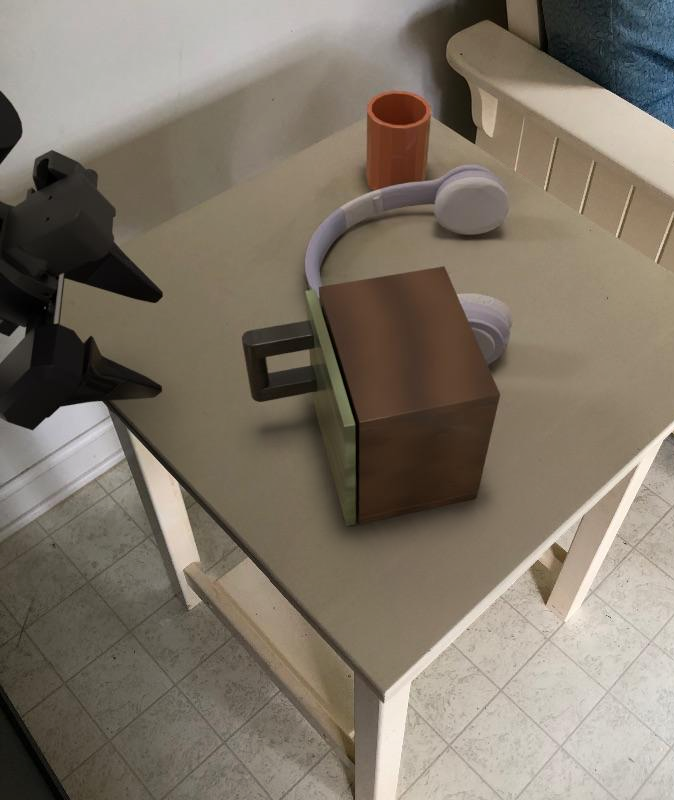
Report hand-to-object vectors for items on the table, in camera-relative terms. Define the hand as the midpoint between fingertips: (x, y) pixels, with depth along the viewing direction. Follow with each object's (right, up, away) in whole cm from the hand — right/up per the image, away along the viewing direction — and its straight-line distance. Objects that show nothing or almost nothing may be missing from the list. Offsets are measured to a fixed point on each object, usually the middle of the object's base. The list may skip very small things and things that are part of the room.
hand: (159, 343), depth 60 cm
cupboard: (+17, -8, +10) cm, 22 cm away
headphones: (+18, +8, +22) cm, 30 cm away
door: (+9, -10, +9) cm, 16 cm away
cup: (+17, +20, +32) cm, 42 cm away
